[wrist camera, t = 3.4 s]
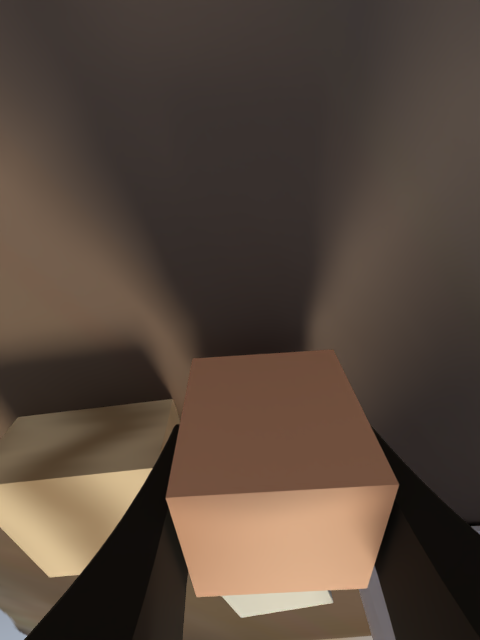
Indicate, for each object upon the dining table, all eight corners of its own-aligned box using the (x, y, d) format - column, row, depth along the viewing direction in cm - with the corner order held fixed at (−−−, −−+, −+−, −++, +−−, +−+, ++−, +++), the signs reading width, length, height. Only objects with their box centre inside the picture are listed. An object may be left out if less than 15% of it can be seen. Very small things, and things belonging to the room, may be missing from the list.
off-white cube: (293, 457, 18) (312, 559, 13) (311, 503, 20) (333, 603, 16) (212, 476, 18) (206, 578, 14) (239, 519, 21) (241, 617, 17)
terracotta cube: (332, 349, 11) (399, 484, 7) (323, 444, 13) (366, 588, 9) (192, 358, 11) (165, 498, 7) (208, 450, 13) (196, 596, 9)
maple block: (173, 394, 15) (156, 467, 12) (204, 488, 19) (198, 564, 16) (21, 412, 16) (-39, 488, 12) (81, 501, 20) (49, 577, 16)
